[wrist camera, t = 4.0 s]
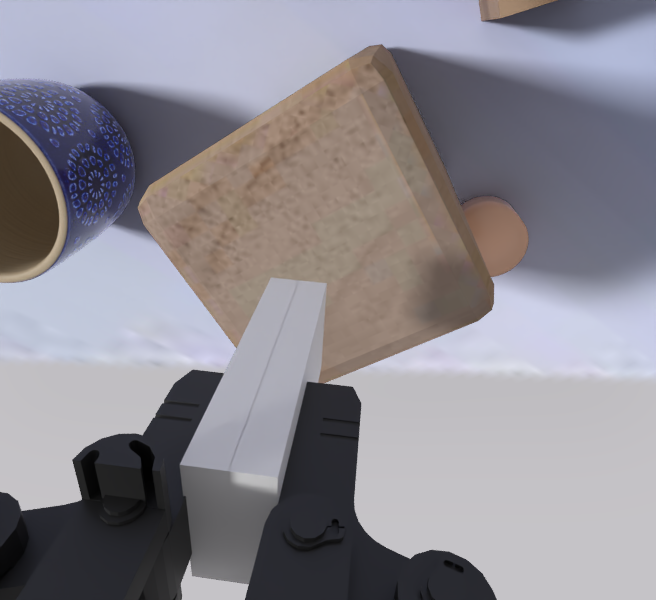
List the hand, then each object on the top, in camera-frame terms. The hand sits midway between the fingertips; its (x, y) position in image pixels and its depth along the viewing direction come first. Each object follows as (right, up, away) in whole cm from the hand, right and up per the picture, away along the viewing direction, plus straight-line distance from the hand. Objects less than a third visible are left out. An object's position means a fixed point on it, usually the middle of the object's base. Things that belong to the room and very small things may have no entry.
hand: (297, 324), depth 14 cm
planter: (-17, +12, +23) cm, 31 cm away
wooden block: (+3, +11, +21) cm, 24 cm away
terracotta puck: (+12, +6, +23) cm, 27 cm away
